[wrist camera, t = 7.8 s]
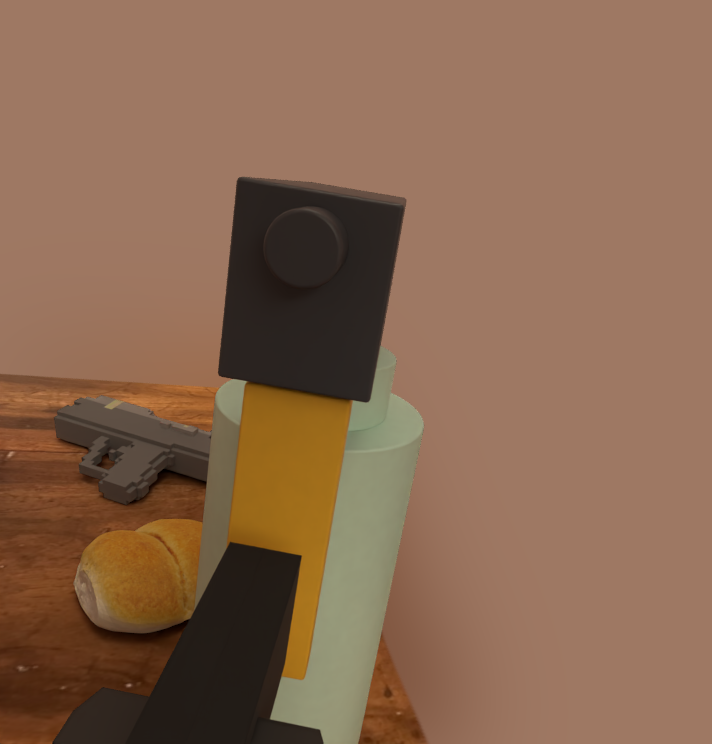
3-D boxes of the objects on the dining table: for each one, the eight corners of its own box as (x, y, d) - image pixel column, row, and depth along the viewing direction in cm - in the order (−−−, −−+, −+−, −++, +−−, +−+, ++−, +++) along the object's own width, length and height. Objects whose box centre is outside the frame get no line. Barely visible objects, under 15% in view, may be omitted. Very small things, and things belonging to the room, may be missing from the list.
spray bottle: (311, 1114, 17) (517, 225, 10) (72, 1062, 18) (107, 156, 10) (350, 744, 29) (460, 206, 22) (206, 716, 29) (266, 173, 22)
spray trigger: (304, 682, 16) (351, 402, 13) (212, 664, 16) (243, 382, 13) (310, 654, 17) (355, 387, 14) (223, 637, 17) (254, 369, 14)
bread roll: (256, 604, 37) (264, 548, 36) (106, 660, 32) (110, 595, 30) (194, 535, 43) (199, 484, 42) (58, 571, 37) (59, 514, 36)
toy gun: (182, 496, 43) (250, 431, 52) (1, 438, 47) (92, 386, 56) (182, 537, 45) (249, 466, 53) (8, 476, 49) (96, 420, 57)
